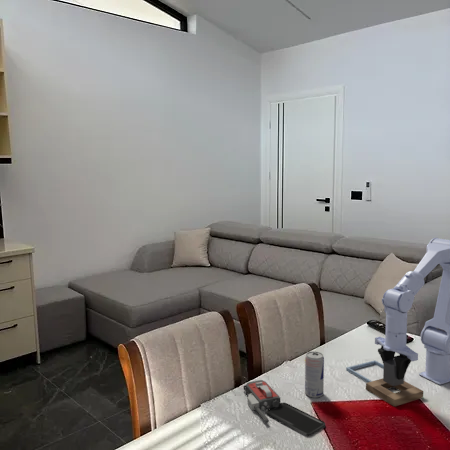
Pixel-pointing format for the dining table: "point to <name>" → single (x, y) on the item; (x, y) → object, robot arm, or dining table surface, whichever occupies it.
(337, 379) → the dining table surface
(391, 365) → the plug
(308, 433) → the phone
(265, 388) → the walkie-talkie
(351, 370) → the frame
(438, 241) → the robot arm
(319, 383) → the energy drink
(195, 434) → the dining table surface
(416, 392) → the socket block
